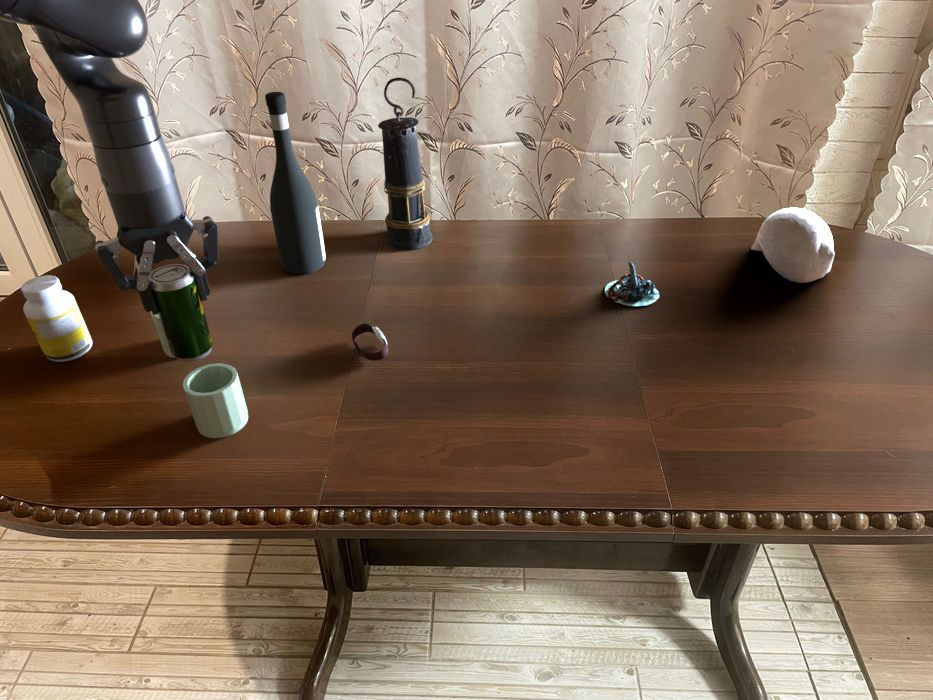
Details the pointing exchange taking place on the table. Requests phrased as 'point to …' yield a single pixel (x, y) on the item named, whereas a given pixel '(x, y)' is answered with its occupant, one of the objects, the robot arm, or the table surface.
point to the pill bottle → (55, 319)
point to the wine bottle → (293, 200)
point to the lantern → (404, 181)
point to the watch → (379, 335)
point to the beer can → (181, 312)
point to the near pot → (216, 400)
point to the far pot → (161, 334)
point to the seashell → (796, 244)
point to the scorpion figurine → (632, 290)
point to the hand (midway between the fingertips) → (178, 304)
